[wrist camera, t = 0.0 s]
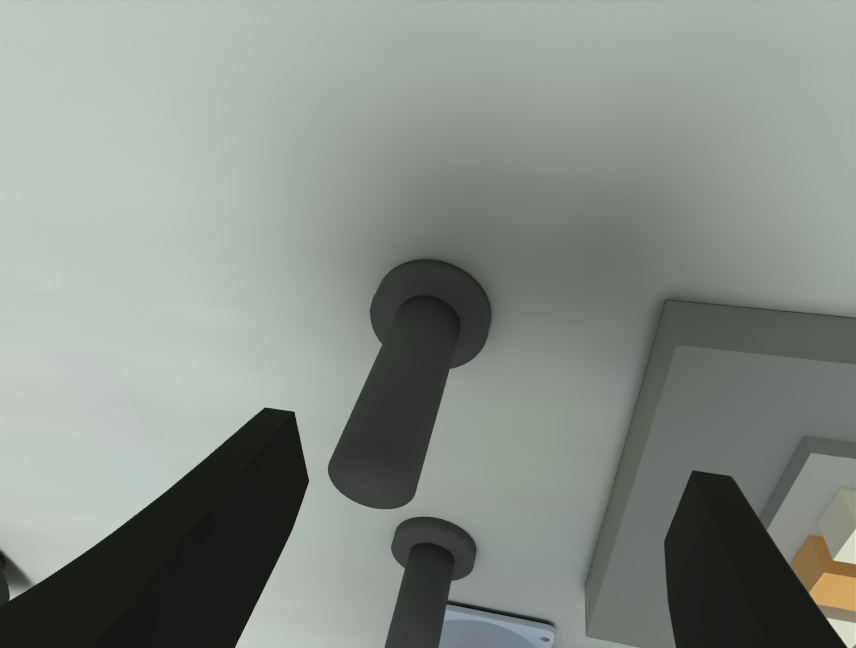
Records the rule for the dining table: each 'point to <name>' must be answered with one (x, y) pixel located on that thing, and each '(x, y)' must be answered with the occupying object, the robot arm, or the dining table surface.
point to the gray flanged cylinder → (426, 578)
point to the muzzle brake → (3, 585)
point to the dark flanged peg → (408, 378)
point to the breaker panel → (735, 458)
